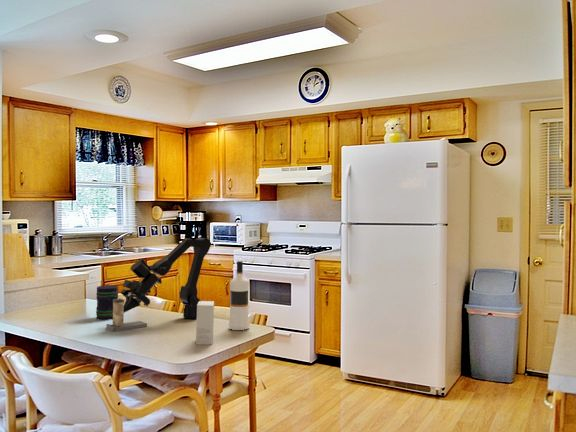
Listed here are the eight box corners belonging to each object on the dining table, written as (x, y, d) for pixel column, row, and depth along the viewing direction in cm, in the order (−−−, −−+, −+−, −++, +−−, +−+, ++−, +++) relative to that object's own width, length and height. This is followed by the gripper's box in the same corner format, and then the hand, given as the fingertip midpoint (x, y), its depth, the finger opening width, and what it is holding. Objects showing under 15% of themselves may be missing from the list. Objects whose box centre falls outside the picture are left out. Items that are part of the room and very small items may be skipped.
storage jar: (122, 317, 238) (122, 286, 238) (107, 320, 229) (107, 289, 229) (107, 315, 242) (107, 284, 242) (91, 318, 234) (91, 287, 234)
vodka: (225, 327, 219) (226, 260, 219) (245, 325, 223) (245, 259, 223) (232, 332, 211) (233, 262, 211) (252, 330, 215) (253, 261, 215)
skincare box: (197, 339, 198) (198, 300, 198) (214, 339, 198) (214, 300, 198) (195, 345, 189) (196, 304, 189) (212, 344, 190) (213, 304, 190)
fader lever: (119, 323, 216) (119, 298, 216) (123, 325, 213) (124, 299, 213) (112, 324, 214) (112, 299, 214) (116, 326, 211) (116, 300, 211)
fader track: (139, 323, 224) (139, 319, 224) (146, 326, 219) (147, 322, 219) (106, 328, 213) (106, 324, 213) (112, 331, 208) (113, 327, 208)
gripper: (125, 271, 225) (100, 297, 218) (143, 275, 211) (118, 303, 204) (141, 286, 230) (117, 313, 223) (160, 291, 217) (136, 320, 209)
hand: (122, 312), depth 215 cm, fingers closed, pressing on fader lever
